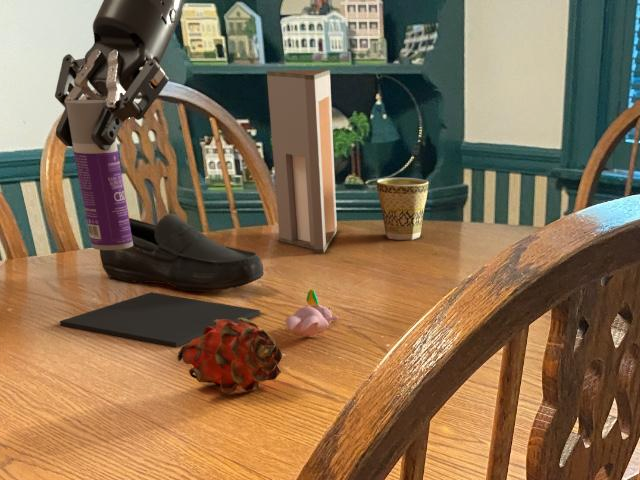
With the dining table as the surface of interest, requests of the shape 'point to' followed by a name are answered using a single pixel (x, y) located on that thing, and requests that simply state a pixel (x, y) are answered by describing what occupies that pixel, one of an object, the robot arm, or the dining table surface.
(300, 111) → the cabinet
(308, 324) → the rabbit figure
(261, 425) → the dining table surface
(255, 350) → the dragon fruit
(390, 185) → the ceramic cup
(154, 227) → the loafer
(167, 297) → the mat
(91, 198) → the container
